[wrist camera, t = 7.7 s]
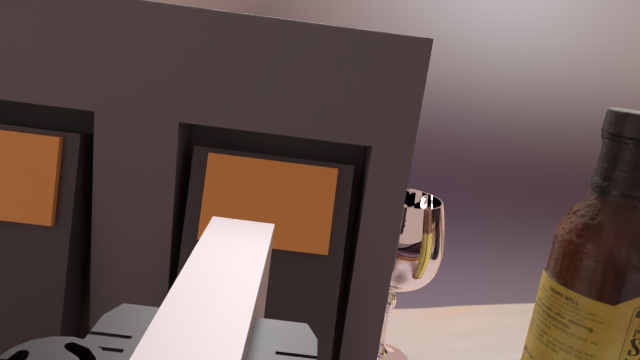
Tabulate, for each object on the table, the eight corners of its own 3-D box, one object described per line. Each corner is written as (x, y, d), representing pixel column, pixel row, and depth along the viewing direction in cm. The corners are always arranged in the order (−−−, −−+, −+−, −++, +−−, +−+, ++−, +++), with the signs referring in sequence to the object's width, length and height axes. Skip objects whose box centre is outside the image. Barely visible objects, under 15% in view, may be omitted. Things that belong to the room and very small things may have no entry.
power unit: (339, 422, 33) (401, 34, 27) (344, 544, 25) (433, 39, 20) (-10, 384, 32) (-21, -22, 27) (-113, 496, 25) (-160, -41, 19)
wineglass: (346, 384, 37) (375, 208, 34) (331, 336, 42) (354, 181, 39) (431, 386, 38) (466, 215, 35) (405, 338, 43) (433, 187, 40)
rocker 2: (319, 415, 23) (349, 169, 23) (322, 438, 21) (355, 165, 21) (170, 399, 23) (203, 150, 23) (155, 421, 20) (192, 144, 21)
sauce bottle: (613, 510, 29) (736, 132, 24) (491, 454, 32) (579, 105, 27) (618, 439, 35) (720, 120, 30) (515, 397, 38) (591, 99, 32)
